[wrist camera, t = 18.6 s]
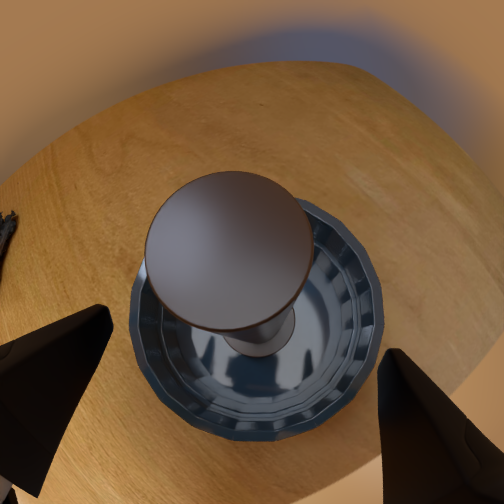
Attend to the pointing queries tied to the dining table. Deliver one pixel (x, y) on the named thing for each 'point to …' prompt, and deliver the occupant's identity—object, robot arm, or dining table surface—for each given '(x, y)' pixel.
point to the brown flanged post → (232, 259)
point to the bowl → (278, 364)
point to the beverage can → (6, 230)
